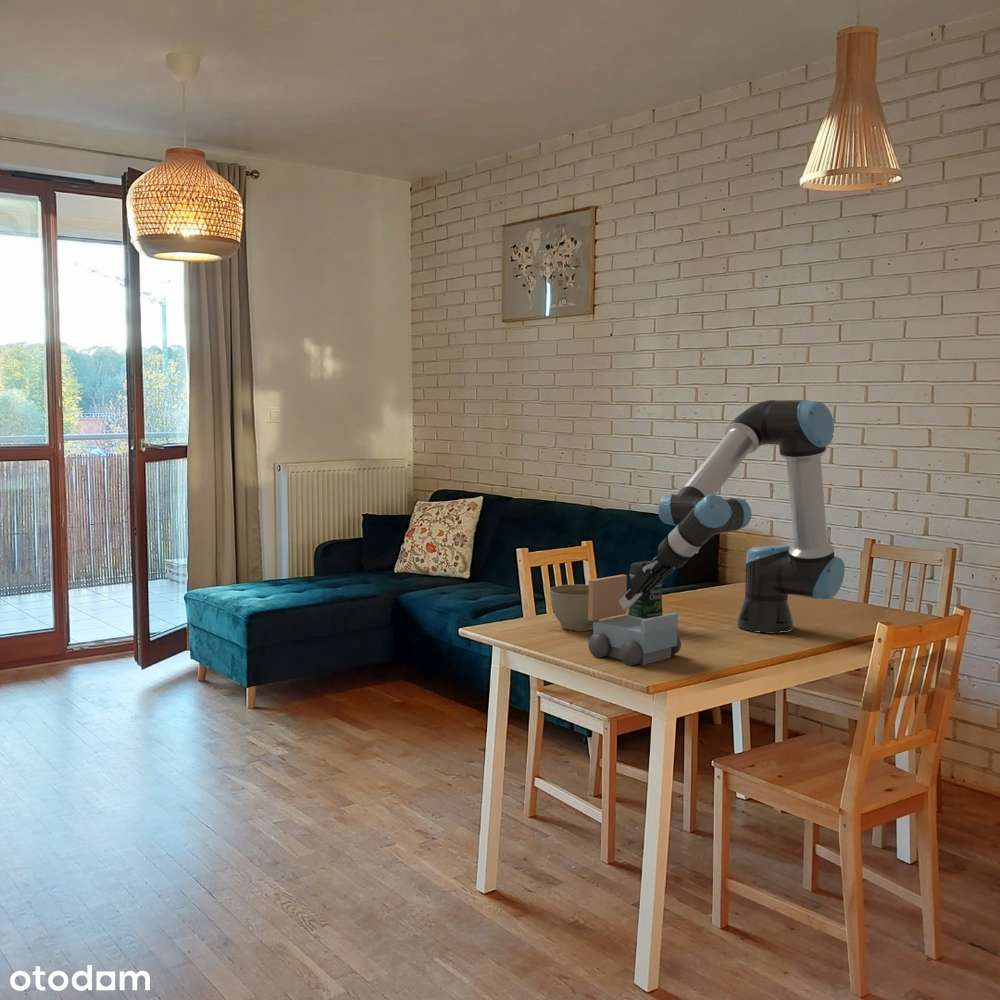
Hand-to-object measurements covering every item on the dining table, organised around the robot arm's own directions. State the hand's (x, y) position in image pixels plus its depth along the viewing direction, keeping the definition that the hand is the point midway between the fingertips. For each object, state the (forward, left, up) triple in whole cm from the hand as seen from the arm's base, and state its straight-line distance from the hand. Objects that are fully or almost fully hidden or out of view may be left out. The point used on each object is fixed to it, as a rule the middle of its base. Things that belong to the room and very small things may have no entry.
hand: (622, 605), depth 252 cm
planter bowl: (+18, -22, -12) cm, 31 cm away
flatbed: (-4, +2, -12) cm, 13 cm away
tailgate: (+5, -2, -4) cm, 6 cm away
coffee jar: (+1, -31, -12) cm, 34 cm away
